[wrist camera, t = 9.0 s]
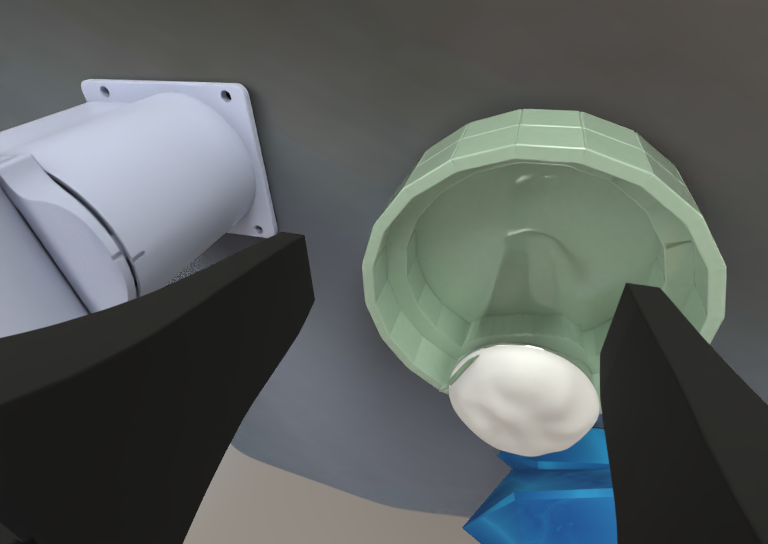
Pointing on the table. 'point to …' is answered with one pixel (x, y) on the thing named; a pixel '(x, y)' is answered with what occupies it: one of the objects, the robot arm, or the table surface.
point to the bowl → (535, 231)
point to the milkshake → (526, 354)
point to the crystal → (552, 498)
